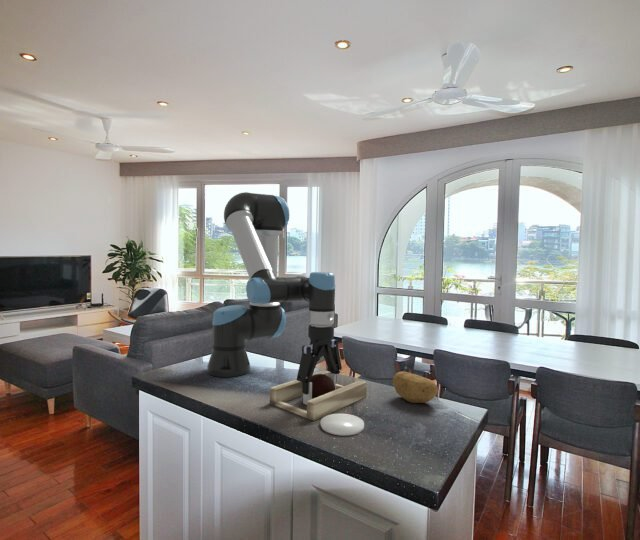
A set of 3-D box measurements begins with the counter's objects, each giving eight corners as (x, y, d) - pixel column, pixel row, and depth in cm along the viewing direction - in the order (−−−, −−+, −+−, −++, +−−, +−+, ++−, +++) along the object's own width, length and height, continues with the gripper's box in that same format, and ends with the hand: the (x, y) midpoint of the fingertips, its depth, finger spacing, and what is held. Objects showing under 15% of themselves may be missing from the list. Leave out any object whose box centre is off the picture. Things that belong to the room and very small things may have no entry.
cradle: (269, 403, 112) (270, 387, 112) (324, 383, 130) (324, 370, 130) (313, 420, 101) (314, 403, 100) (366, 396, 119) (366, 382, 119)
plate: (311, 425, 98) (311, 422, 98) (338, 412, 106) (338, 410, 106) (346, 440, 91) (346, 436, 90) (372, 425, 99) (372, 422, 99)
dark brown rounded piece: (307, 393, 120) (307, 369, 120) (336, 396, 118) (337, 371, 118) (301, 403, 112) (301, 377, 112) (332, 406, 110) (333, 379, 110)
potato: (427, 413, 107) (428, 384, 107) (385, 398, 117) (386, 372, 117) (444, 404, 114) (445, 377, 114) (403, 391, 124) (404, 366, 124)
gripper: (304, 331, 103) (302, 414, 104) (354, 321, 120) (352, 392, 121) (284, 327, 108) (283, 406, 109) (335, 318, 125) (334, 387, 126)
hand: (319, 399), depth 115 cm, fingers open, 10 cm apart
